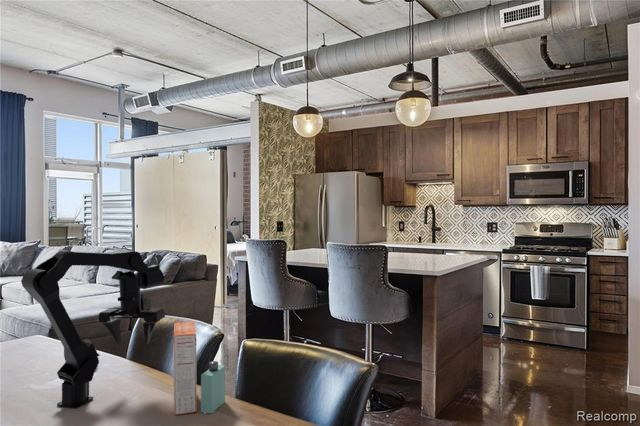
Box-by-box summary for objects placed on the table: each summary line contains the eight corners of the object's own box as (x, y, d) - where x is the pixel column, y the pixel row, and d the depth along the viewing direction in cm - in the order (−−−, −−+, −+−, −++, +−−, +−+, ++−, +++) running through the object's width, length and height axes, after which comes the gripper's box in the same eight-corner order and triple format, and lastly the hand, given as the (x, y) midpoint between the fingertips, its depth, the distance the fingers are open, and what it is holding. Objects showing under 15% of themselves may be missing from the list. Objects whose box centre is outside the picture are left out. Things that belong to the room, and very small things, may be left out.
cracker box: (173, 395, 134) (174, 321, 134) (195, 392, 136) (195, 320, 135) (172, 416, 120) (172, 334, 120) (197, 413, 122) (197, 333, 122)
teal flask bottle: (211, 414, 122) (211, 368, 122) (201, 412, 122) (201, 367, 122) (225, 401, 129) (225, 358, 129) (215, 400, 130) (215, 357, 130)
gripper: (171, 286, 148) (174, 335, 148) (116, 287, 150) (119, 335, 151) (154, 294, 137) (157, 347, 137) (95, 294, 139) (98, 346, 140)
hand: (133, 343), depth 142 cm, fingers open, 9 cm apart
